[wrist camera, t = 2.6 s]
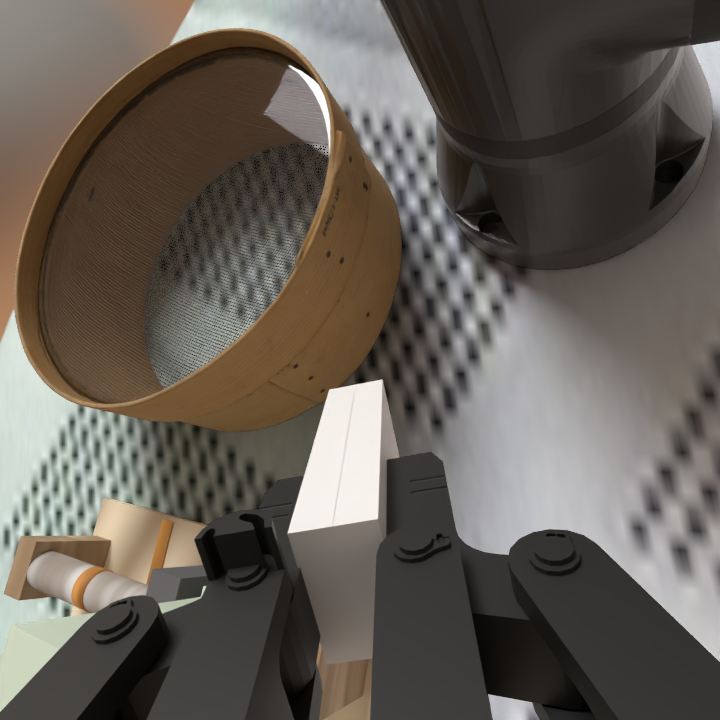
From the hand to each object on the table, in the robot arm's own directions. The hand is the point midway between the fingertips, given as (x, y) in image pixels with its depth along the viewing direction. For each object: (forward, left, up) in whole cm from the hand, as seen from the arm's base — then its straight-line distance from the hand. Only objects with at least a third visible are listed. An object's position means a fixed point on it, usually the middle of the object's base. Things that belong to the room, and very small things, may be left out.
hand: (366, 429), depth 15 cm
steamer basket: (-17, -16, -18) cm, 30 cm away
